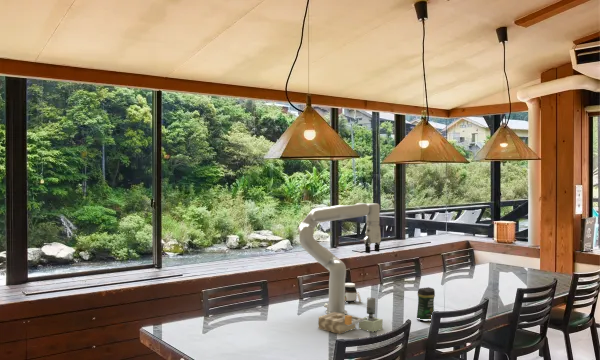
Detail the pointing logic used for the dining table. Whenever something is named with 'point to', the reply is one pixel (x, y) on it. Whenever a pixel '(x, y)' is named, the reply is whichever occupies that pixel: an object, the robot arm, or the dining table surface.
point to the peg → (371, 309)
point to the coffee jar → (425, 303)
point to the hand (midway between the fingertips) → (372, 252)
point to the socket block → (334, 323)
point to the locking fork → (352, 320)
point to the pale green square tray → (371, 324)
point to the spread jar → (351, 293)
